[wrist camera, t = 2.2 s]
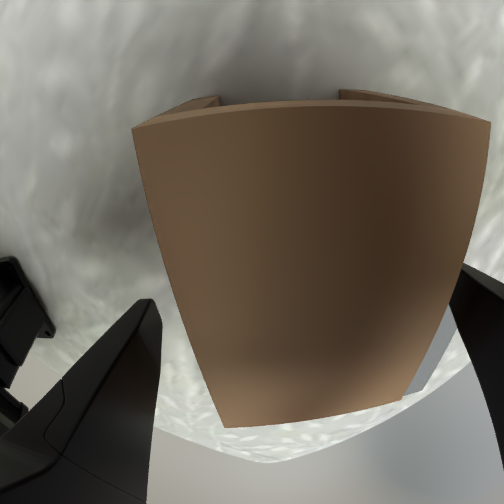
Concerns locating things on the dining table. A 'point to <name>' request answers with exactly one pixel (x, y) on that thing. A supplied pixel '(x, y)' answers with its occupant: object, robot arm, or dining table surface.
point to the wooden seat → (311, 243)
